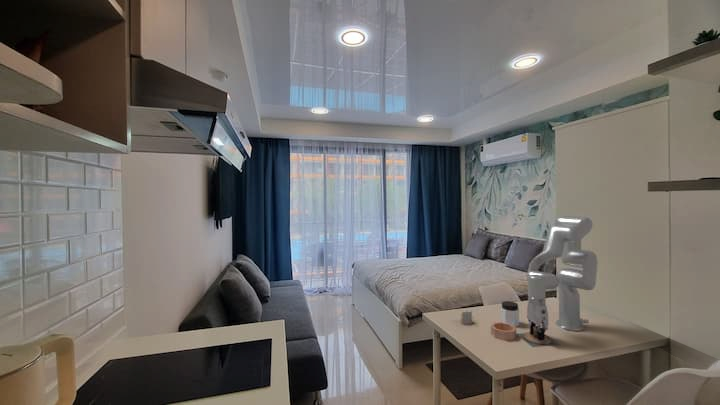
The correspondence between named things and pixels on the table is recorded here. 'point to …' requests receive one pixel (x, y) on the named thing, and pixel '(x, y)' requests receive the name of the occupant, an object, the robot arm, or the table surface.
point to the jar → (510, 313)
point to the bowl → (503, 331)
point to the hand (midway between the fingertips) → (537, 336)
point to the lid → (534, 337)
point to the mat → (537, 344)
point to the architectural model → (466, 318)
